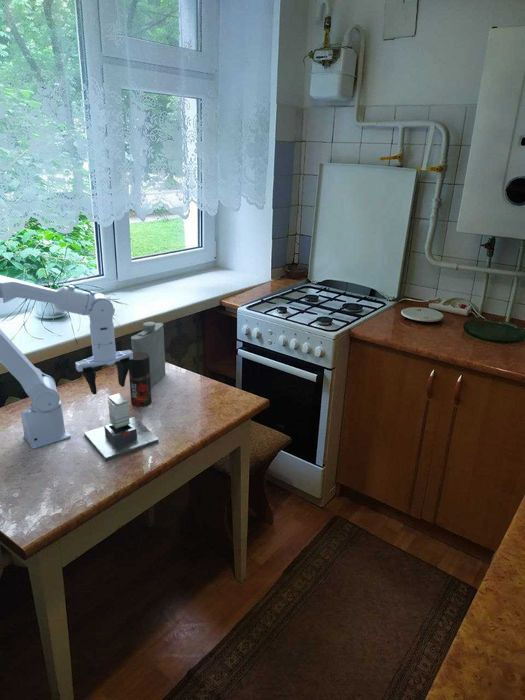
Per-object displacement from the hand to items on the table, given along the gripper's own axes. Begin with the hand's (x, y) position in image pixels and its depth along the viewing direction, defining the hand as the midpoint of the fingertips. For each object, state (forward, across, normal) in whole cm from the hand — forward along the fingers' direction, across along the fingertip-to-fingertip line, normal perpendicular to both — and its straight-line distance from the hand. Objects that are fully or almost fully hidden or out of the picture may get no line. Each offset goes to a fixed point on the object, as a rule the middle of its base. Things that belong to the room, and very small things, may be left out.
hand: (108, 389), depth 131 cm
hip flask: (+11, +21, +17) cm, 29 cm away
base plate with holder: (+10, -1, -9) cm, 14 cm away
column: (+7, -1, -9) cm, 11 cm away
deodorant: (+11, +12, +6) cm, 17 cm away
